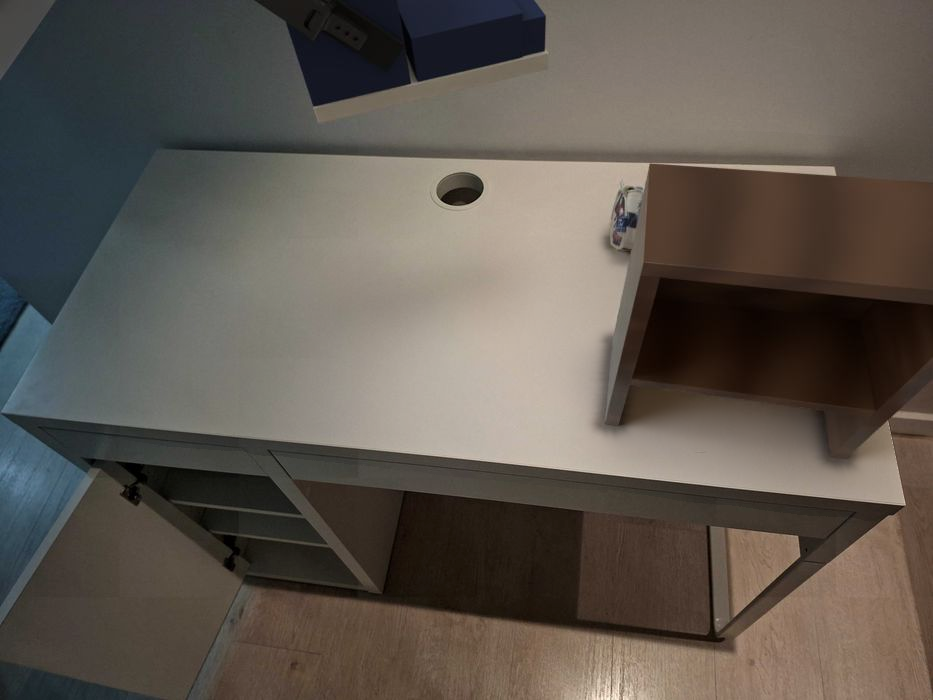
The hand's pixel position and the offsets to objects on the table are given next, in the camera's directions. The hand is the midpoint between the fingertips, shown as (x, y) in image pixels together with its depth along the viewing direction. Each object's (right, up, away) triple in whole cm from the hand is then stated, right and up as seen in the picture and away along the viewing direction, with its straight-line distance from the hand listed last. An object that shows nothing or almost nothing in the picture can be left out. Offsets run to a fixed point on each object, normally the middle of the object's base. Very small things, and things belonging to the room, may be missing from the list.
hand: (385, 33), depth 53 cm
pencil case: (+39, -13, +31) cm, 52 cm away
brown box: (+37, -34, +18) cm, 53 cm away
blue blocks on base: (+3, -2, +4) cm, 6 cm away
